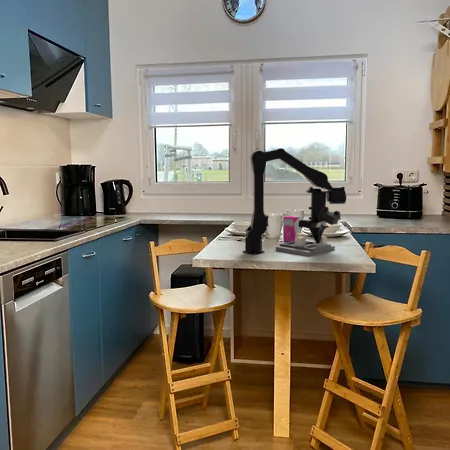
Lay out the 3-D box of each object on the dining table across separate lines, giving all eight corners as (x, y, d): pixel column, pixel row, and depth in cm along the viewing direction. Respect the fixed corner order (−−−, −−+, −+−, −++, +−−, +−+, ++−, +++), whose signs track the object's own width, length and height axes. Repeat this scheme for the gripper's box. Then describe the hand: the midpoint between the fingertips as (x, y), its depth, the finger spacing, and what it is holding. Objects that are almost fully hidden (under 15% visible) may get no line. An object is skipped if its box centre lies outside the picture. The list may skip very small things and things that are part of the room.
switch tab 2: (301, 248, 180) (301, 238, 180) (294, 247, 182) (295, 237, 182) (305, 247, 182) (305, 237, 182) (299, 246, 185) (299, 236, 184)
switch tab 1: (301, 244, 189) (301, 234, 188) (295, 243, 191) (295, 233, 190) (305, 243, 191) (305, 233, 190) (299, 242, 193) (299, 233, 192)
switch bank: (308, 256, 173) (308, 249, 173) (275, 250, 185) (275, 244, 184) (334, 249, 186) (334, 243, 185) (302, 244, 197) (302, 239, 197)
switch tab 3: (322, 247, 182) (322, 237, 182) (316, 246, 184) (316, 236, 184) (326, 246, 184) (327, 236, 184) (320, 245, 186) (320, 235, 186)
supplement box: (289, 240, 209) (289, 215, 207) (300, 241, 205) (301, 216, 204) (282, 241, 204) (282, 216, 203) (294, 243, 201) (294, 217, 199)
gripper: (322, 207, 168) (321, 249, 170) (349, 203, 180) (348, 242, 183) (297, 205, 175) (297, 245, 178) (325, 202, 188) (324, 239, 190)
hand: (317, 243), depth 182 cm, fingers closed
